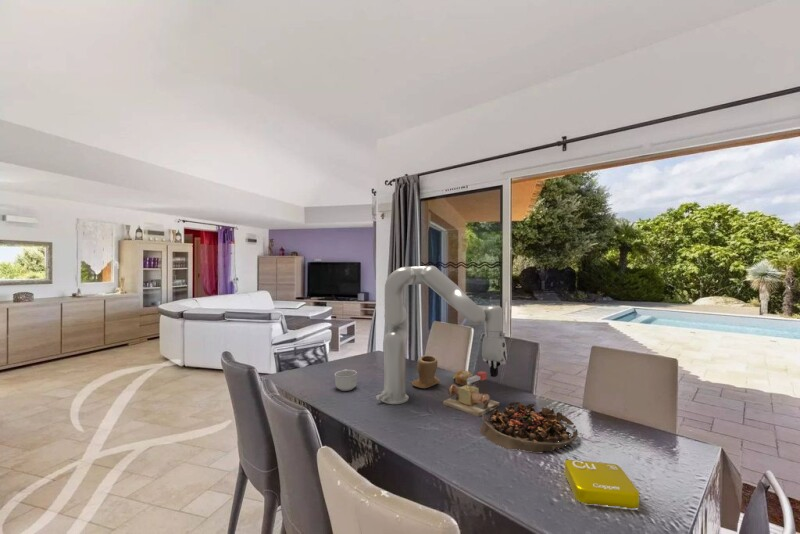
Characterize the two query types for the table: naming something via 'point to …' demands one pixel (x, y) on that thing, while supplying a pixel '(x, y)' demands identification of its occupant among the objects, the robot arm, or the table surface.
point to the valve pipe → (469, 395)
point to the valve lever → (477, 377)
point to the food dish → (527, 428)
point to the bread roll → (462, 377)
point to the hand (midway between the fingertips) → (494, 376)
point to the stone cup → (426, 372)
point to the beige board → (467, 408)
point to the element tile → (601, 484)
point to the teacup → (346, 379)
